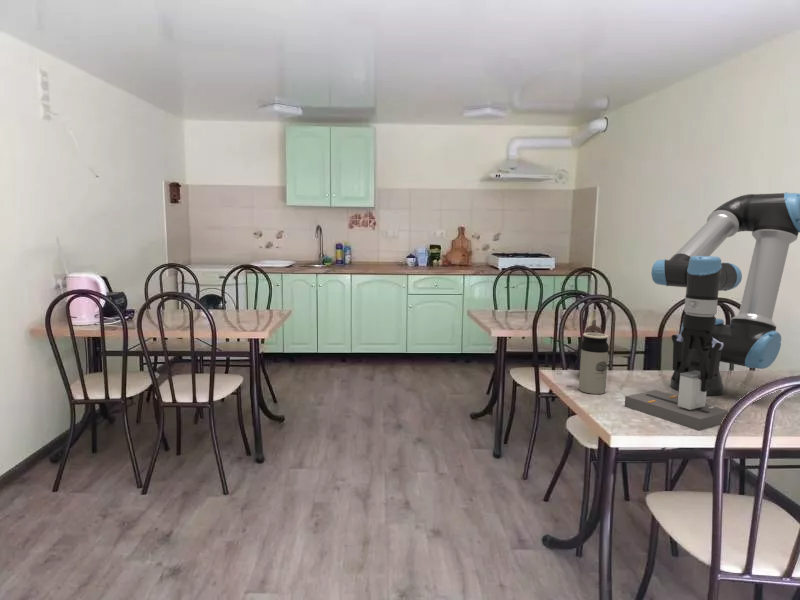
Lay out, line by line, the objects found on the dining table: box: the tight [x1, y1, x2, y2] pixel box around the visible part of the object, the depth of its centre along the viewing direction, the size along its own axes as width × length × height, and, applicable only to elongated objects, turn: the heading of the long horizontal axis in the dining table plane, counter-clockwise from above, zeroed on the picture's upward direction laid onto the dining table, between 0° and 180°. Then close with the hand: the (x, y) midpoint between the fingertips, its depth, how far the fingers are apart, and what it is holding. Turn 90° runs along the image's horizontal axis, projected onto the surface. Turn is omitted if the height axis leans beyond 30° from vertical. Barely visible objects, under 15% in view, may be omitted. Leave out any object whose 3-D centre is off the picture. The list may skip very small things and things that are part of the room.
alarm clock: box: [579, 319, 603, 362], centre depth 189 cm, size 15×7×20 cm, turn 159°
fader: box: [677, 370, 707, 410], centre depth 148 cm, size 4×7×9 cm, turn 121°
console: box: [624, 389, 729, 431], centre depth 153 cm, size 22×14×3 cm, turn 31°
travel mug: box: [578, 332, 610, 395], centre depth 173 cm, size 8×8×18 cm
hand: (691, 400), depth 149 cm, fingers closed on fader, 3 cm apart
